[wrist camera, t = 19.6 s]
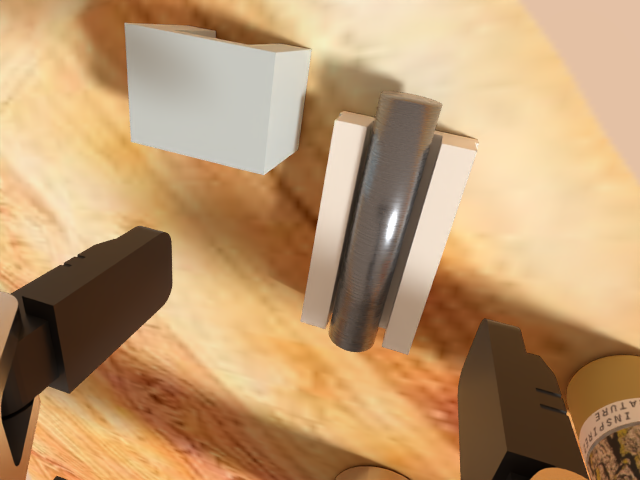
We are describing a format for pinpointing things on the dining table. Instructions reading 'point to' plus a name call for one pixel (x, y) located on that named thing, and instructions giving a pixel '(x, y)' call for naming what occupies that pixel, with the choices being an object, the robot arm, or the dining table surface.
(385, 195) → the axle
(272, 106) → the bearing block
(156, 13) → the dining table surface
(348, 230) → the cradle
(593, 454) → the bark textured cylinder
